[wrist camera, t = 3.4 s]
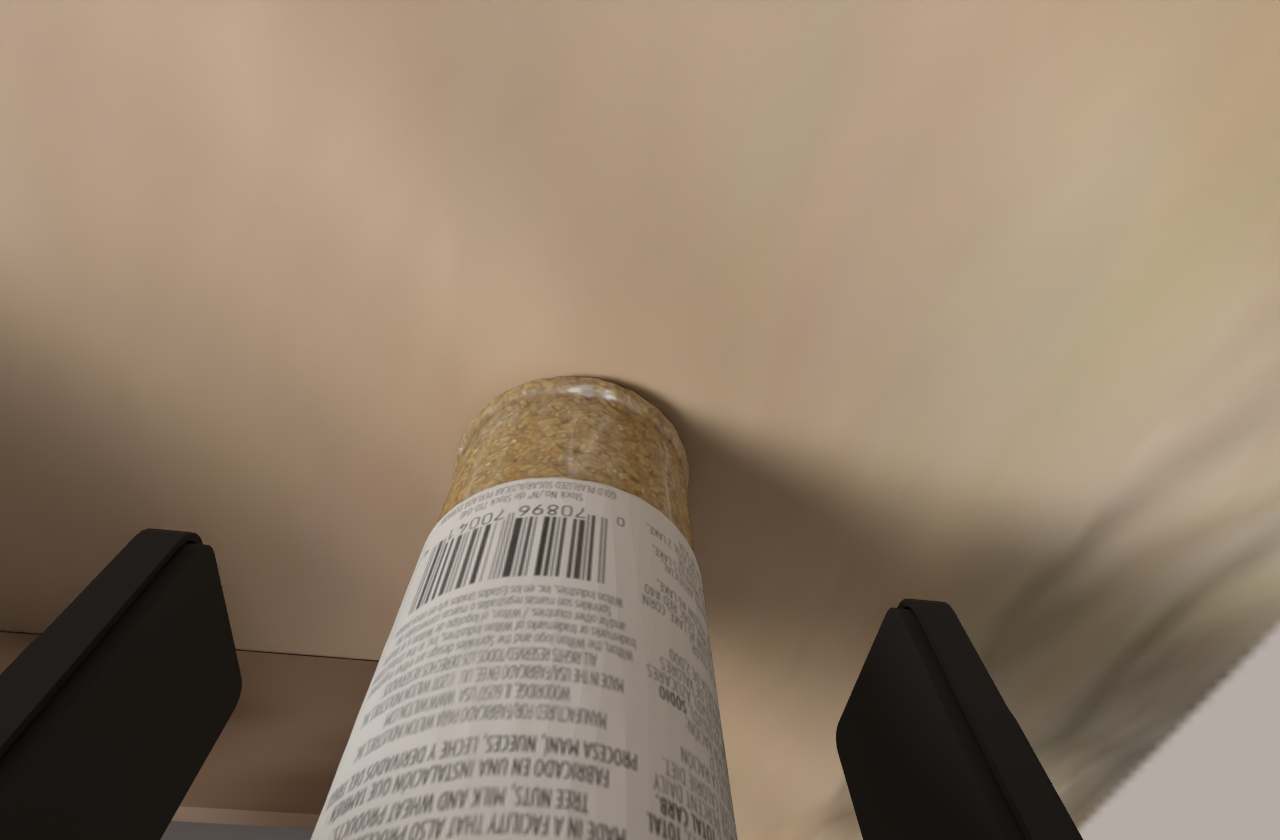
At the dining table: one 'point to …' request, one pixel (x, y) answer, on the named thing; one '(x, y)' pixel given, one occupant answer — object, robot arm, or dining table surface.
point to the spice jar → (547, 643)
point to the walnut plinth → (267, 746)
